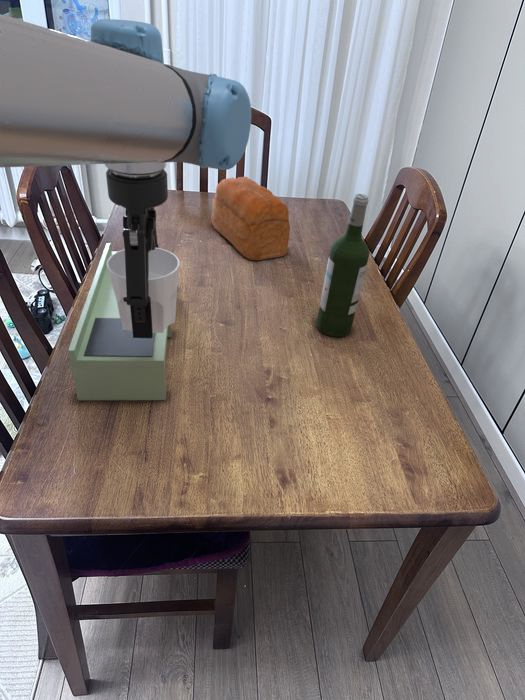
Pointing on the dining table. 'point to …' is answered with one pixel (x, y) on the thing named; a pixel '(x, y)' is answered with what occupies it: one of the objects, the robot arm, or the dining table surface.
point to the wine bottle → (344, 275)
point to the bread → (251, 218)
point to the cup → (160, 287)
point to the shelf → (114, 349)
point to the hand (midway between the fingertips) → (146, 315)
